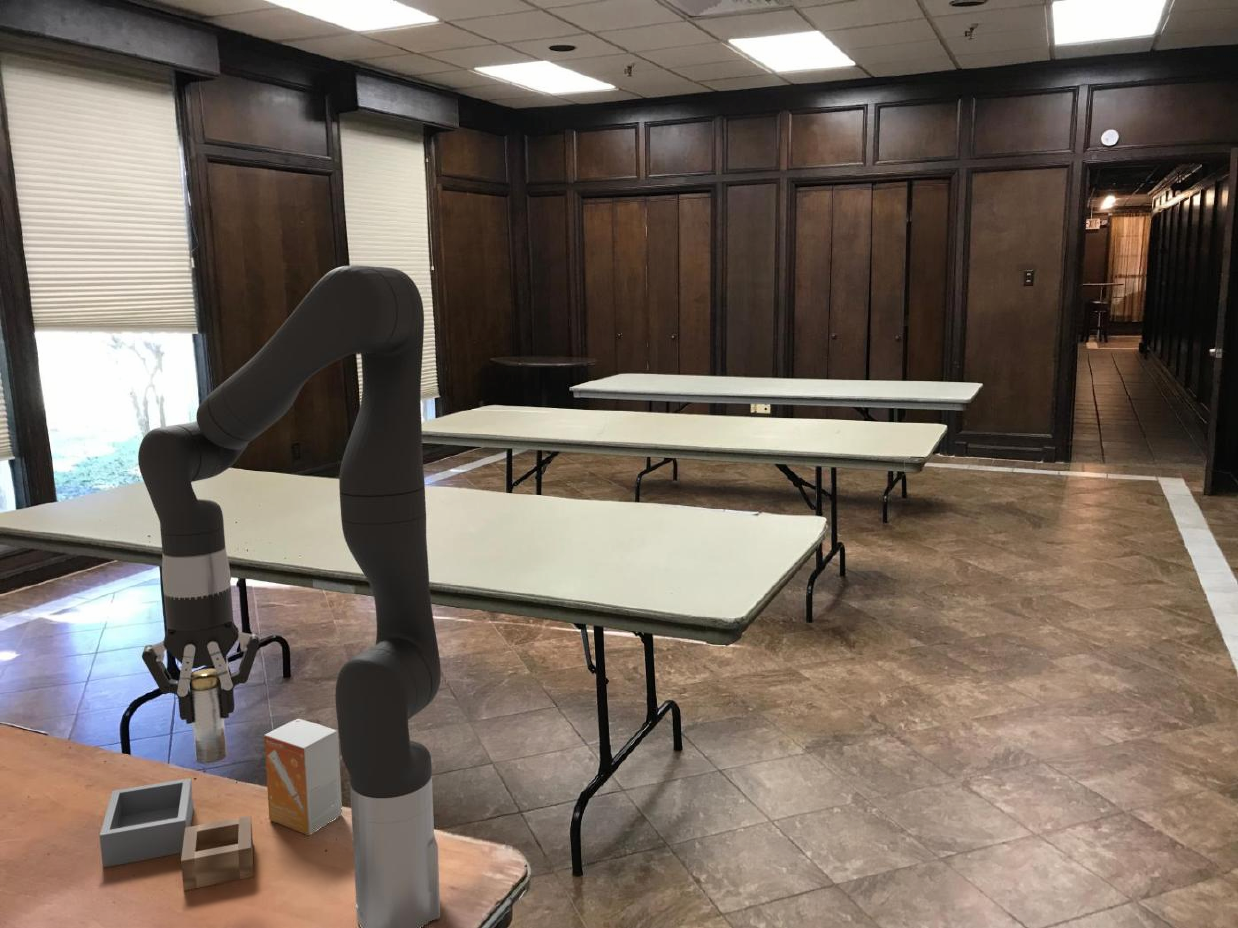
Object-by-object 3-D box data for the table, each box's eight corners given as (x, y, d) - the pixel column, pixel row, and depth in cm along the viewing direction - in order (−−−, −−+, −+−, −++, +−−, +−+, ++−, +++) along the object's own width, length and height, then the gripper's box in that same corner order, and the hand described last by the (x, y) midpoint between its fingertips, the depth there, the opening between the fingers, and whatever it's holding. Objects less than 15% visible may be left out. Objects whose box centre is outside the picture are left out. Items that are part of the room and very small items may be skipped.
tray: (193, 806, 135) (191, 777, 135) (188, 851, 124) (185, 820, 123) (115, 820, 132) (112, 790, 131) (102, 867, 121) (99, 835, 120)
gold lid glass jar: (227, 748, 121) (220, 666, 119) (226, 760, 118) (219, 677, 116) (196, 753, 120) (189, 670, 118) (195, 765, 116) (187, 681, 114)
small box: (268, 821, 132) (262, 734, 129) (303, 800, 137) (298, 716, 135) (309, 837, 128) (303, 747, 125) (344, 815, 133) (339, 729, 131)
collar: (252, 843, 126) (250, 815, 125) (252, 876, 119) (250, 847, 118) (187, 855, 123) (185, 827, 123) (183, 890, 116) (181, 860, 115)
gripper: (128, 601, 109) (142, 740, 112) (259, 587, 114) (269, 721, 117) (136, 584, 116) (148, 715, 119) (259, 571, 121) (268, 698, 124)
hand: (208, 717), depth 118 cm, fingers closed on gold lid glass jar, 3 cm apart
